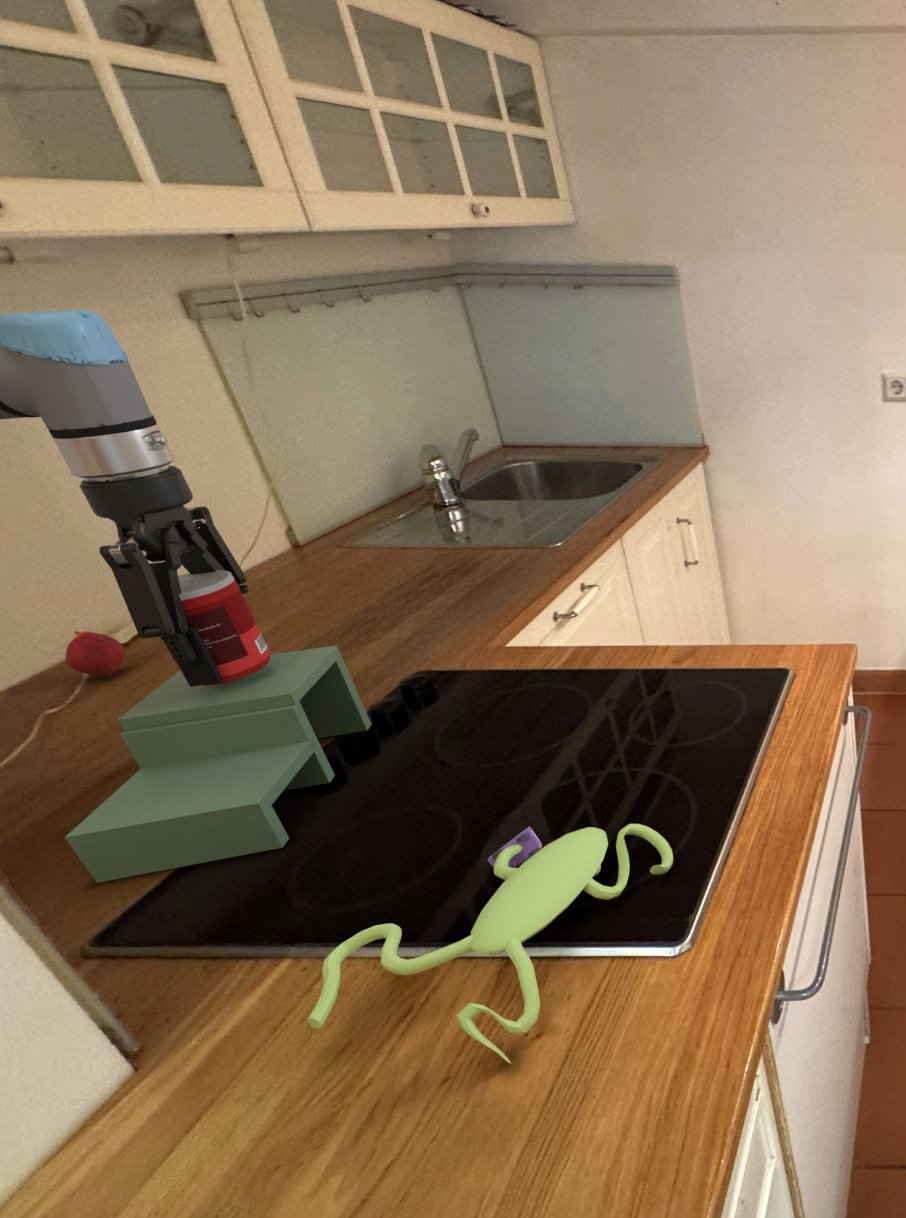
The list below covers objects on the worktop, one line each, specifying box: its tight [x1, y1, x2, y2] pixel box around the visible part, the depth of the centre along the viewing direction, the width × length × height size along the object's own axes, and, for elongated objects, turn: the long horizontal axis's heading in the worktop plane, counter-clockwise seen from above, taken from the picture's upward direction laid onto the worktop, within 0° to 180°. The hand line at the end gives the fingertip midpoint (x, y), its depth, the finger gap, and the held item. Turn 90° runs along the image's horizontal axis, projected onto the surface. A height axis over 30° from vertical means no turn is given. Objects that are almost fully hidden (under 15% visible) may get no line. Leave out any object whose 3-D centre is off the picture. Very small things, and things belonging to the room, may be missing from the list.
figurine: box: [307, 823, 674, 1064], centre depth 68 cm, size 18×27×6 cm
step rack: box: [64, 645, 372, 884], centre depth 87 cm, size 16×24×12 cm, turn 16°
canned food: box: [172, 570, 271, 686], centre depth 86 cm, size 8×8×11 cm
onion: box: [65, 628, 126, 678], centre depth 114 cm, size 6×6×8 cm
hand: (228, 664), depth 88 cm, fingers closed on canned food, 8 cm apart
